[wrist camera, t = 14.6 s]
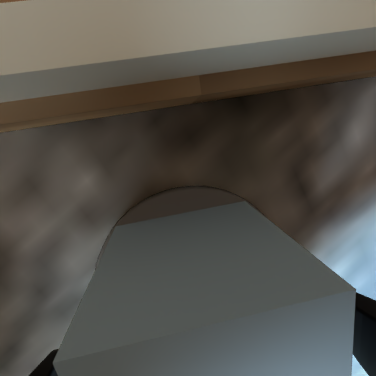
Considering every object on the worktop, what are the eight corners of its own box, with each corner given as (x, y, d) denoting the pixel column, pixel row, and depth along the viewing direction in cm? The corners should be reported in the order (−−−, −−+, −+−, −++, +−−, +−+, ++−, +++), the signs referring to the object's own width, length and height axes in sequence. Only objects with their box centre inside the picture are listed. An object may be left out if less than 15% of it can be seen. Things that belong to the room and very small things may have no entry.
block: (244, 200, 9) (356, 289, 4) (256, 322, 10) (344, 494, 5) (115, 226, 8) (52, 363, 3) (148, 348, 10) (138, 562, 5)
